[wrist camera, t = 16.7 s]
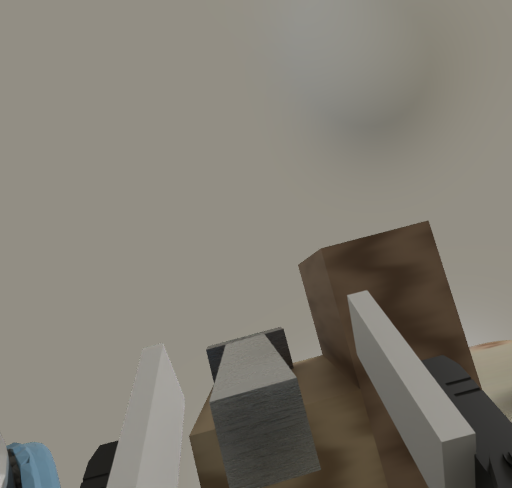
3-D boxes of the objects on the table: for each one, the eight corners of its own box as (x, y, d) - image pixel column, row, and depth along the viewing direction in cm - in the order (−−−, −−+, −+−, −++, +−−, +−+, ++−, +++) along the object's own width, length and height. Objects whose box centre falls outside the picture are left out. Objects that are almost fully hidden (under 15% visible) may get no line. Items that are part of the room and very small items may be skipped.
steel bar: (185, 510, 17) (164, 414, 18) (217, 383, 43) (208, 346, 43) (364, 456, 18) (339, 365, 18) (290, 363, 43) (280, 326, 44)
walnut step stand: (256, 731, 25) (156, 291, 28) (256, 562, 41) (192, 292, 44) (562, 642, 26) (428, 220, 29) (445, 509, 42) (367, 246, 45)
